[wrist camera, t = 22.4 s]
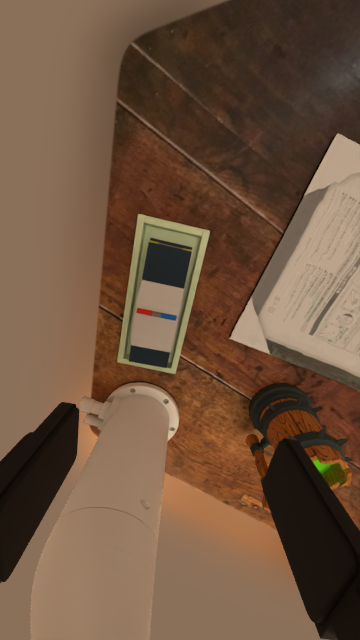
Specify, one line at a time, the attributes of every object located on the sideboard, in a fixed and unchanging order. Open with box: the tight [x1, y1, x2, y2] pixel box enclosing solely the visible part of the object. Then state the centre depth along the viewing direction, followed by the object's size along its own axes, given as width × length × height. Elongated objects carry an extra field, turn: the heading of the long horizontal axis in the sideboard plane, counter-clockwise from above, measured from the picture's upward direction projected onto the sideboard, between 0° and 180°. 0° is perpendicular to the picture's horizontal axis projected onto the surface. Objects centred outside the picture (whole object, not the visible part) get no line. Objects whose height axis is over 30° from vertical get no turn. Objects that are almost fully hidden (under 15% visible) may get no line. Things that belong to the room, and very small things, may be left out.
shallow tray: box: [117, 214, 210, 374], centre depth 26 cm, size 9×20×2 cm, turn 168°
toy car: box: [129, 238, 192, 368], centre depth 24 cm, size 5×16×5 cm, turn 168°
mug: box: [246, 383, 352, 513], centre depth 26 cm, size 13×10×12 cm
